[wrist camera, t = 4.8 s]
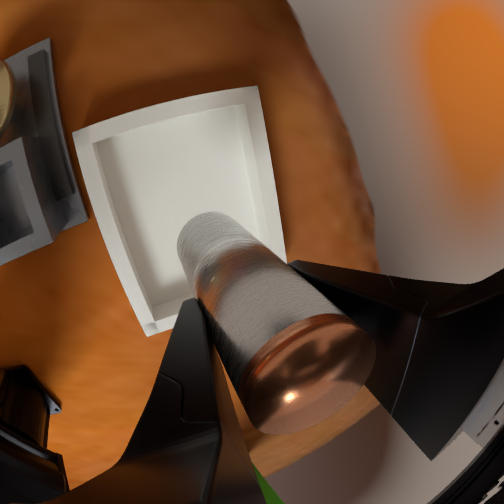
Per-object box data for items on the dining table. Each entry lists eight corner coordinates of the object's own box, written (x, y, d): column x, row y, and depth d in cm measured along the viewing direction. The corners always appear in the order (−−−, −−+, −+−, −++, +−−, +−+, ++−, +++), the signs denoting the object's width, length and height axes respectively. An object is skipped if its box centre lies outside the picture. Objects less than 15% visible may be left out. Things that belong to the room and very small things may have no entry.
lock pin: (248, 263, 14) (368, 393, 6) (187, 284, 13) (262, 449, 6) (235, 202, 12) (382, 304, 5) (168, 223, 12) (233, 376, 4)
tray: (275, 270, 24) (289, 284, 21) (144, 317, 21) (146, 336, 19) (243, 91, 17) (257, 85, 15) (80, 133, 15) (71, 132, 12)
